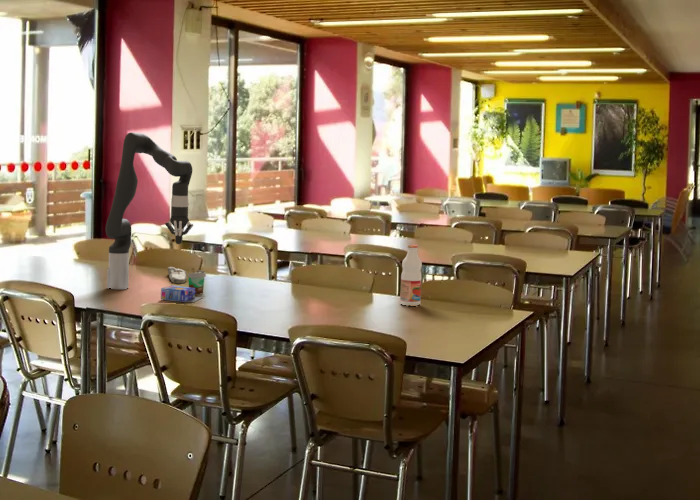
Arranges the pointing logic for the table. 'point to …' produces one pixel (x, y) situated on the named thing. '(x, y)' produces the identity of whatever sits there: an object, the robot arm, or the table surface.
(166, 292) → the ink cartridge box
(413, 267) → the fruit juice
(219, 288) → the table surface
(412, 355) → the table surface
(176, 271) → the long grey stone
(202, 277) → the food container
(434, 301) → the table surface
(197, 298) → the mat
